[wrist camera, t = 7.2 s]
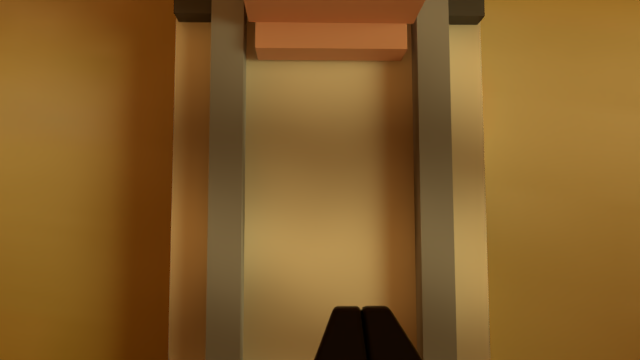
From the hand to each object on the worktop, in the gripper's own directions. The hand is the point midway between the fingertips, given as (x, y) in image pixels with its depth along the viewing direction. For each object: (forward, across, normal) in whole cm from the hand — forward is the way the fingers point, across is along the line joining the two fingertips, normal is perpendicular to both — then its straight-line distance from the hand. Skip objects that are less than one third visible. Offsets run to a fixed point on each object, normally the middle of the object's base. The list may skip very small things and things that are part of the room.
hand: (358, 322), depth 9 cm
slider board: (+11, 0, +6) cm, 12 cm away
